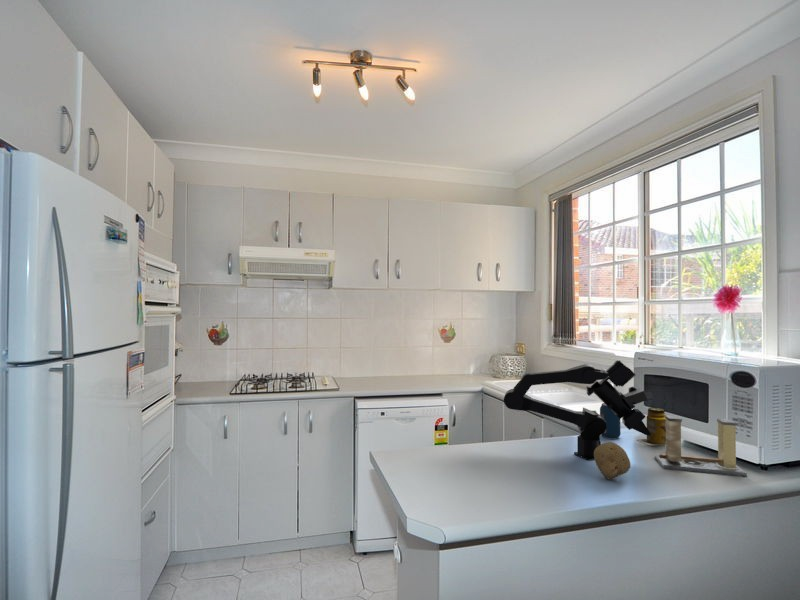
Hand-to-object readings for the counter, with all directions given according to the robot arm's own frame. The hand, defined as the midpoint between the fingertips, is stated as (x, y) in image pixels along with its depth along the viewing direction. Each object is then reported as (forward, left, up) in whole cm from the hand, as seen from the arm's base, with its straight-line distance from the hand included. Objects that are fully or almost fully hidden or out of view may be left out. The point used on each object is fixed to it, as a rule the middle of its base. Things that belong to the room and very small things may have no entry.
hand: (649, 434), depth 137 cm
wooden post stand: (+11, -7, -8) cm, 15 cm away
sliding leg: (+5, -4, -7) cm, 9 cm away
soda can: (+10, +26, -9) cm, 29 cm away
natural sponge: (-22, -8, -9) cm, 25 cm away
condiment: (+20, +16, -9) cm, 27 cm away
